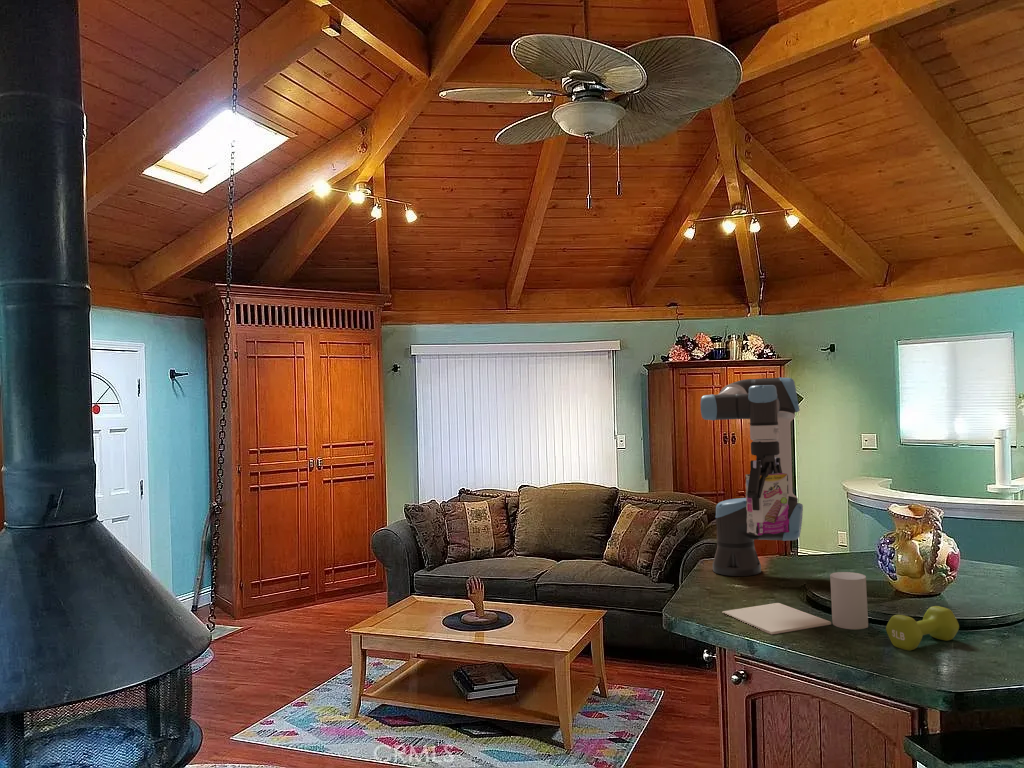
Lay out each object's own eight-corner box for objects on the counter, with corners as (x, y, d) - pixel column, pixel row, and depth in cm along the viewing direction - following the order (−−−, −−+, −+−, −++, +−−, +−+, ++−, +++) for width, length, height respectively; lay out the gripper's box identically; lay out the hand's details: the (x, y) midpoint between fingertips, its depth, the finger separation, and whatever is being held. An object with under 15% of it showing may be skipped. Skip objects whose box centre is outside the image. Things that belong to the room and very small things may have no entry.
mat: (778, 604, 210) (778, 602, 210) (831, 624, 191) (831, 621, 191) (722, 613, 204) (722, 611, 204) (771, 634, 185) (771, 632, 185)
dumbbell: (914, 655, 168) (912, 621, 168) (882, 645, 175) (881, 613, 175) (963, 642, 175) (962, 610, 175) (931, 632, 182) (930, 602, 182)
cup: (873, 623, 191) (870, 574, 191) (861, 631, 185) (859, 581, 185) (839, 617, 197) (837, 570, 197) (827, 625, 191) (825, 576, 191)
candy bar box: (758, 536, 208) (755, 475, 209) (746, 533, 213) (743, 474, 213) (791, 532, 212) (788, 473, 213) (778, 530, 217) (776, 471, 218)
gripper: (758, 443, 202) (761, 526, 201) (795, 438, 220) (799, 515, 219) (731, 442, 207) (735, 523, 207) (770, 438, 225) (773, 513, 224)
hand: (768, 519), depth 213 cm, fingers closed on candy bar box, 12 cm apart
